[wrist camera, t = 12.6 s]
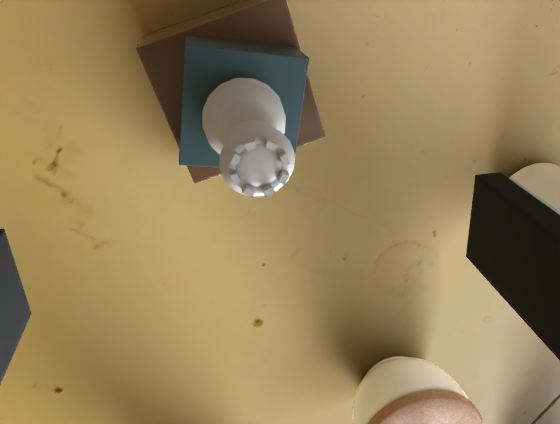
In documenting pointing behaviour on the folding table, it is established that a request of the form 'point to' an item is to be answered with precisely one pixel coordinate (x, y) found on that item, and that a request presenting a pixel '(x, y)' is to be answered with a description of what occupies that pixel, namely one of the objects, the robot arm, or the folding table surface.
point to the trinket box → (411, 395)
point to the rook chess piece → (249, 136)
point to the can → (541, 183)
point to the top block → (229, 65)
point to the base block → (228, 25)
